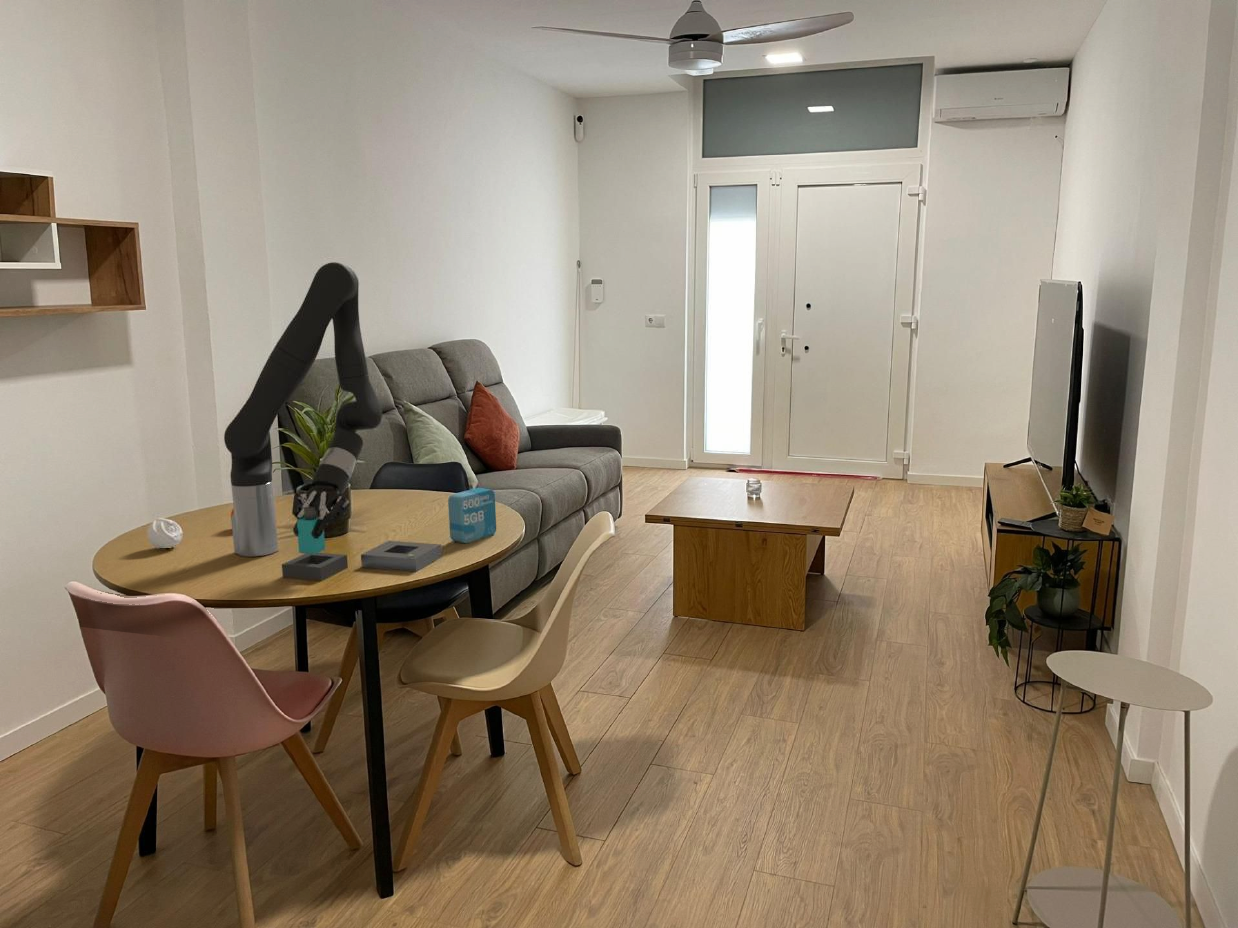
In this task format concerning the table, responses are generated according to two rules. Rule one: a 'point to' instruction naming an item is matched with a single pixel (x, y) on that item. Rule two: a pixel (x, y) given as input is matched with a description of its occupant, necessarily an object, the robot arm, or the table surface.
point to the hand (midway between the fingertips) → (305, 535)
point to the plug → (309, 533)
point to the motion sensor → (164, 533)
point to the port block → (401, 556)
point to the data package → (472, 515)
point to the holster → (314, 566)
